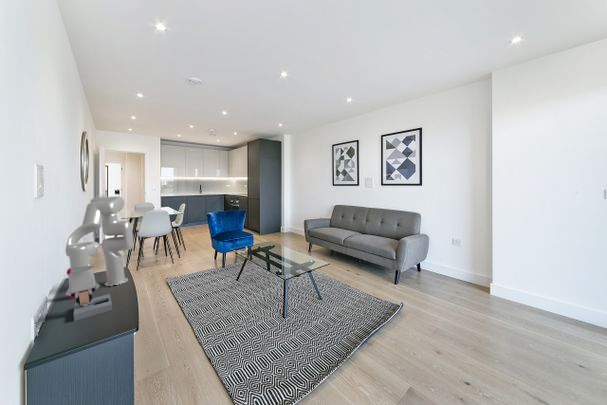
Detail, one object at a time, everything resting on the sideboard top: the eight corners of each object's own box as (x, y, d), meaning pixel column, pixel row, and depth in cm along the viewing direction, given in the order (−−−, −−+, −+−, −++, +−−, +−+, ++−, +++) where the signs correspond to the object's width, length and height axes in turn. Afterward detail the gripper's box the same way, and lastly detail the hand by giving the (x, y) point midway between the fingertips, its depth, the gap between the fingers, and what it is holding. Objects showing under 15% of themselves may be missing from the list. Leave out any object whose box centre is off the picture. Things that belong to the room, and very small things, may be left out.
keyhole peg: (79, 310, 131) (77, 291, 130) (91, 307, 134) (89, 288, 133) (79, 314, 128) (77, 294, 127) (91, 310, 131) (89, 291, 130)
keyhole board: (75, 308, 135) (74, 302, 134) (110, 299, 144) (109, 293, 144) (74, 321, 122) (73, 314, 122) (112, 309, 132) (111, 304, 131)
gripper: (100, 263, 137) (104, 295, 139) (59, 271, 126) (63, 305, 128) (101, 266, 132) (105, 299, 133) (58, 275, 121) (62, 311, 122)
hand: (84, 302), depth 131 cm, fingers closed on keyhole peg, 3 cm apart
